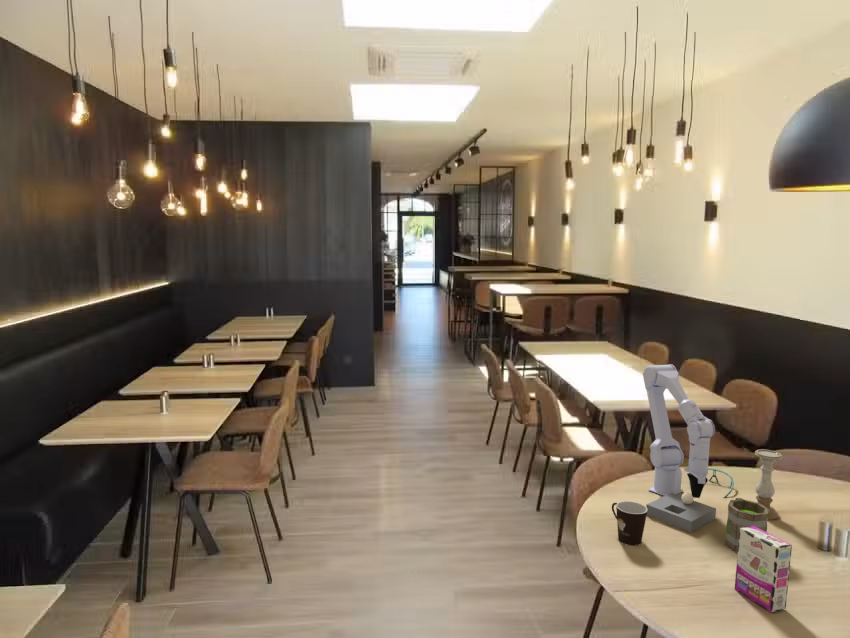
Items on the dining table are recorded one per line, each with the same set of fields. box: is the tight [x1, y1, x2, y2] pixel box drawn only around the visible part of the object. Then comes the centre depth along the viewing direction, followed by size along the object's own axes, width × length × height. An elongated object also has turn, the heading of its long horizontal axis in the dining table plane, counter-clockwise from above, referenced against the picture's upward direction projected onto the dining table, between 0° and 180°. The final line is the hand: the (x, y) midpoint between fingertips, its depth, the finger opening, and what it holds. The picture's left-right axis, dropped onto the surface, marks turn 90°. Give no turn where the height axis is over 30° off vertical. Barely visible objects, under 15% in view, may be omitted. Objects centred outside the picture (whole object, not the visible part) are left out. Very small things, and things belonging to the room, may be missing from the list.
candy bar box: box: [734, 526, 793, 613], centre depth 154 cm, size 11×5×16 cm, turn 21°
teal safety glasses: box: [688, 467, 735, 499], centre depth 223 cm, size 14×15×5 cm
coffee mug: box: [611, 500, 648, 546], centre depth 185 cm, size 12×9×10 cm
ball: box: [681, 492, 694, 504], centre depth 201 cm, size 4×4×4 cm
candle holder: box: [754, 448, 783, 521], centre depth 201 cm, size 9×9×20 cm
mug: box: [724, 497, 769, 554], centre depth 182 cm, size 16×11×12 cm
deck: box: [645, 493, 717, 533], centre depth 199 cm, size 15×15×4 cm
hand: (695, 497), depth 205 cm, fingers closed
